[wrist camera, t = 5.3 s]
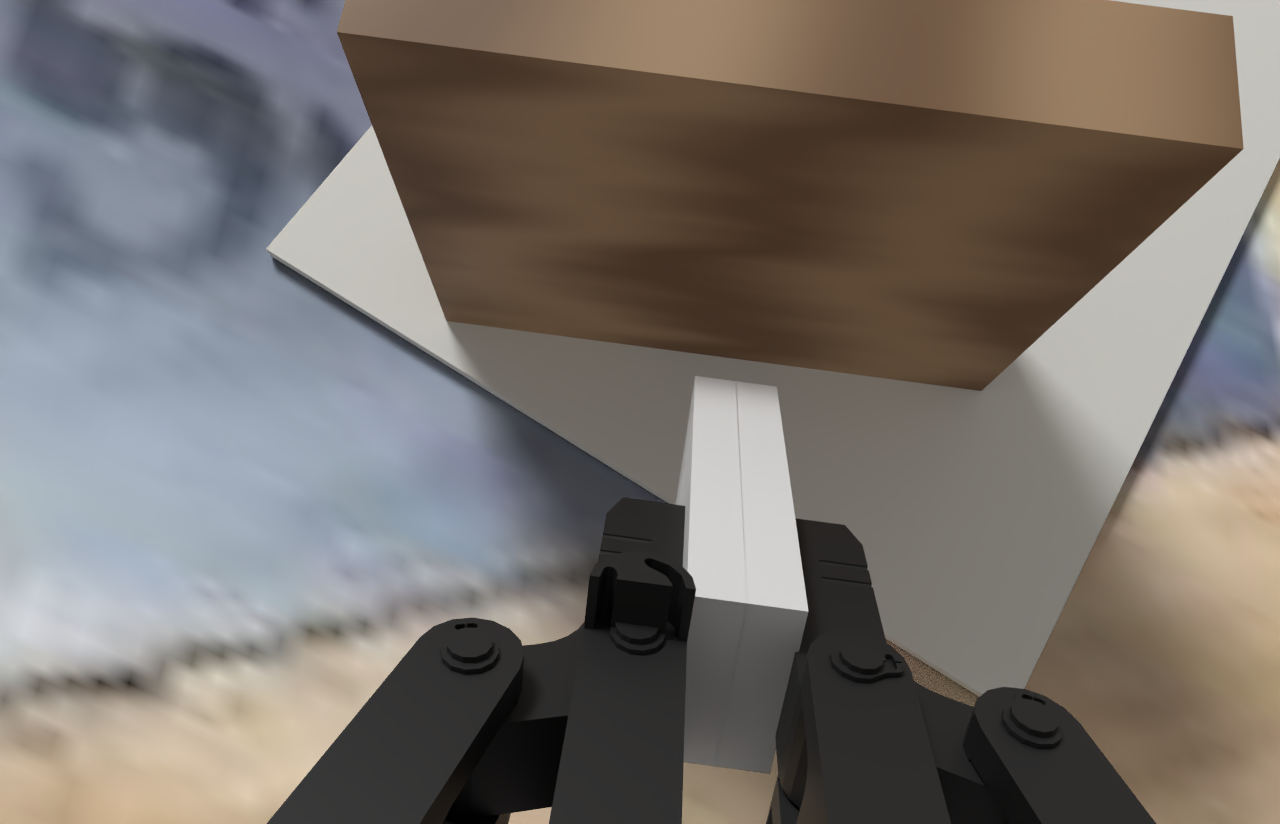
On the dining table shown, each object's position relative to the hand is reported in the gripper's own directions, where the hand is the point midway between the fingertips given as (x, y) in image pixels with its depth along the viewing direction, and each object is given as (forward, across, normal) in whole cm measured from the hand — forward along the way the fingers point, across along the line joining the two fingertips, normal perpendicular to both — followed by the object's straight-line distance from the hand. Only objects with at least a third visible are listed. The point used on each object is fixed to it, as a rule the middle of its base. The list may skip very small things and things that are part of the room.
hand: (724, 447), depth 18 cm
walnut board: (+8, 0, 0) cm, 8 cm away
